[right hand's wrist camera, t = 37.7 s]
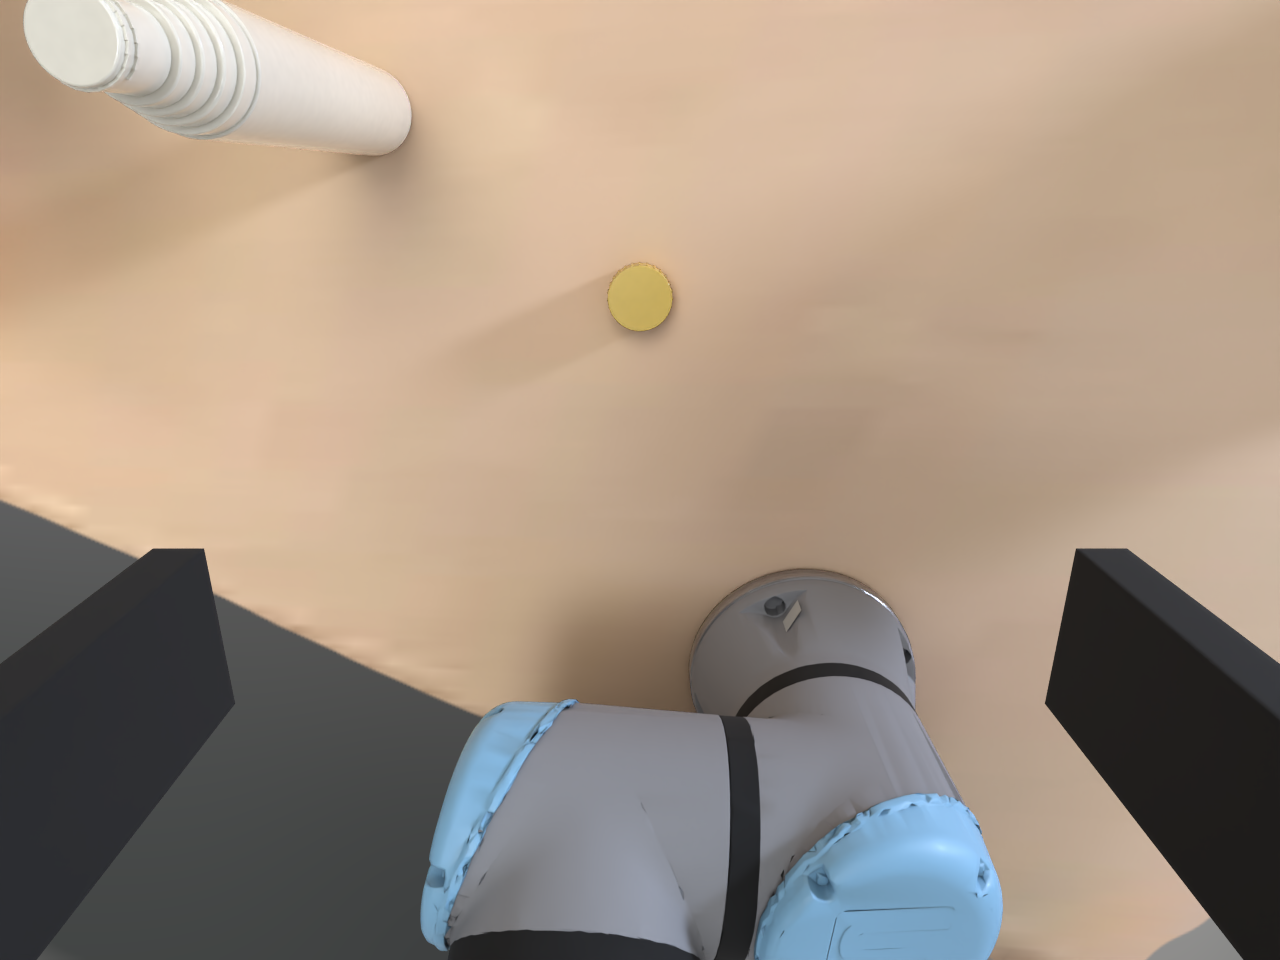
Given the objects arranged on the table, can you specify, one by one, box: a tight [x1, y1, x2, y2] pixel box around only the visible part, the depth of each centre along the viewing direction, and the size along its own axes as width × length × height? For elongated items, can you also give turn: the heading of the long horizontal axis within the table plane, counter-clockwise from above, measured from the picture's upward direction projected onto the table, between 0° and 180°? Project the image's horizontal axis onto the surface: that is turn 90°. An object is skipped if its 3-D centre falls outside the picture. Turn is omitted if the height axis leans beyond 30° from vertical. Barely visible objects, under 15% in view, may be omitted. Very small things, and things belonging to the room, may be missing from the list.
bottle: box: [23, 0, 412, 156], centre depth 33 cm, size 5×5×25 cm
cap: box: [607, 262, 673, 331], centre depth 48 cm, size 4×4×2 cm
